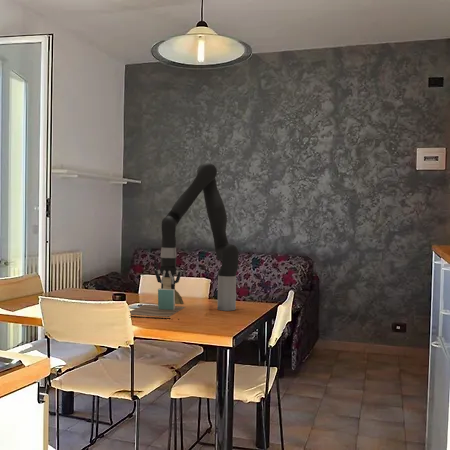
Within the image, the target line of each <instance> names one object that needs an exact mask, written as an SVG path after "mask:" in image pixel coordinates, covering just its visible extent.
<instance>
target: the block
mask: <svg viewBox="0 0 450 450" xmlns="http://www.w3.org/2000/svg"><path fill="white" fill-rule="evenodd" d="M171 284H172V283H171V278H170V277H163V289H171Z"/></svg>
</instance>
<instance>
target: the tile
mask: <svg viewBox="0 0 450 450" xmlns="http://www.w3.org/2000/svg"><path fill="white" fill-rule="evenodd" d="M175 290H176V288H175V289H161V287H160V288H158V289H157V305H158V309H163V310H175V306H176V304H175Z"/></svg>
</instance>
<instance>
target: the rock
mask: <svg viewBox="0 0 450 450" xmlns="http://www.w3.org/2000/svg"><path fill="white" fill-rule="evenodd" d="M184 304H185V302H184V300H183V297H182V296H181V294H180V293H179V291H177V290H176V289H175V305H184Z"/></svg>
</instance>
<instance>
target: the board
mask: <svg viewBox="0 0 450 450" xmlns="http://www.w3.org/2000/svg"><path fill="white" fill-rule="evenodd" d="M185 308H186V306H178V305H175V310H163V309H158V304H143V305H141V306H138V307H136V308H134V309H132V310H130V313H131V315H130V316H131V317H130V318H132V319H133V318H137V319H153V320H167V319H169V320H171V318H172V317H171V316H173V315H175V314H176V313H178V312H180V311H181V310H183V309H185ZM170 317H171V318H170Z"/></svg>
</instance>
